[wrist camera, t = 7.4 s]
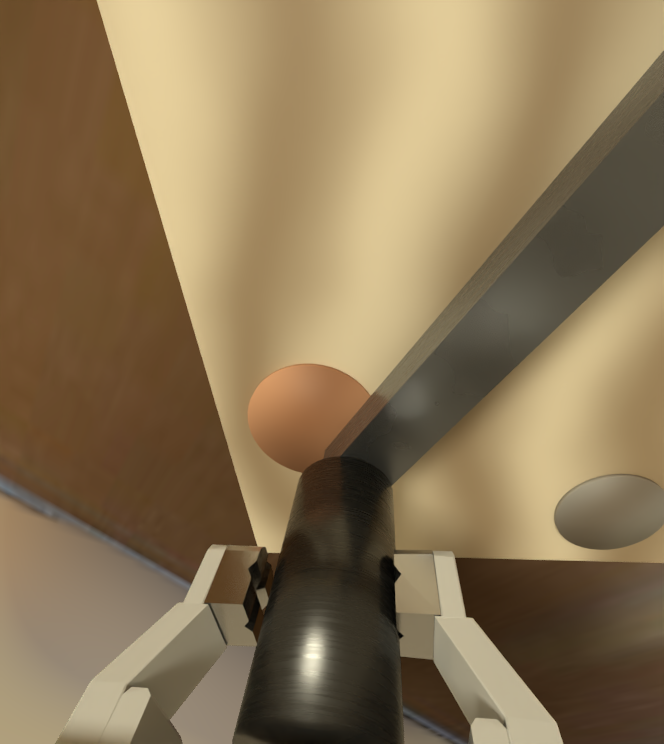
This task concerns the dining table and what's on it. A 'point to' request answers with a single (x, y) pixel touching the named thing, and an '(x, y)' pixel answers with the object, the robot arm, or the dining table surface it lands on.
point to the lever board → (402, 247)
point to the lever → (434, 438)
